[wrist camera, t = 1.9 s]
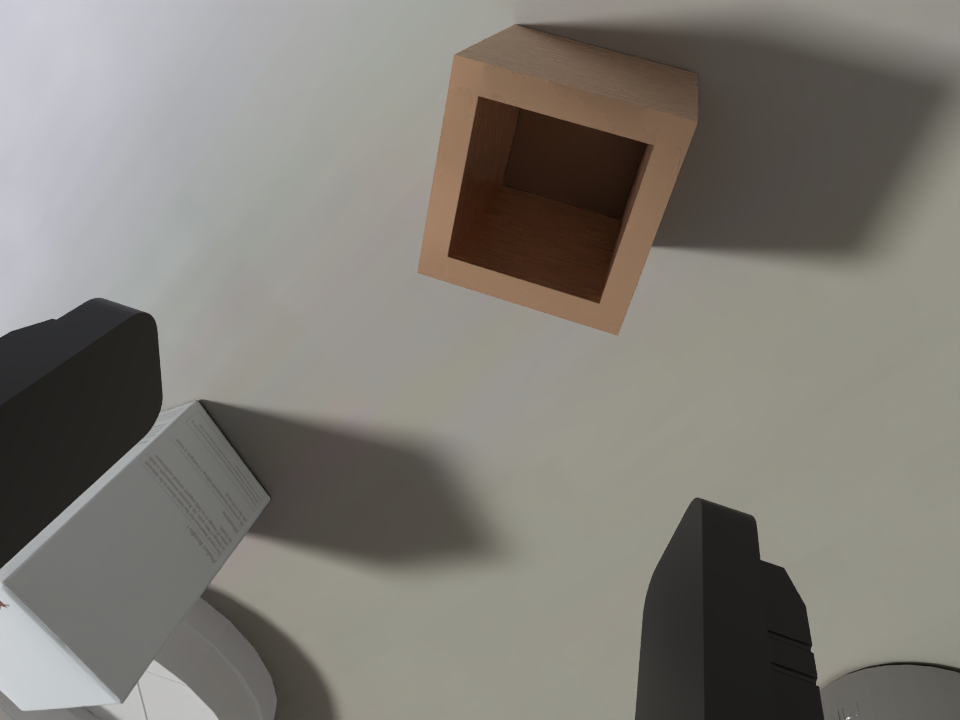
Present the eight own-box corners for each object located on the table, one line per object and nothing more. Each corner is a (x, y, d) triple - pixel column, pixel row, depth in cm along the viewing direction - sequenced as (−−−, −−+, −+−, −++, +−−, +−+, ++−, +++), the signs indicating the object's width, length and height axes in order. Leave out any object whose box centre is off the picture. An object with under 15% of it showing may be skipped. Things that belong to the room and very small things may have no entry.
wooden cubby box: (697, 73, 22) (698, 121, 16) (635, 245, 26) (617, 335, 20) (514, 24, 23) (454, 54, 17) (478, 198, 26) (417, 272, 21)
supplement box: (110, 426, 39) (-102, 604, 29) (201, 396, 36) (-1, 584, 26) (186, 521, 42) (17, 715, 32) (276, 502, 39) (123, 710, 28)
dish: (49, 686, 60) (2, 741, 56) (-19, 505, 48) (-87, 559, 43) (284, 771, 56) (252, 837, 52) (275, 601, 44) (232, 670, 40)
